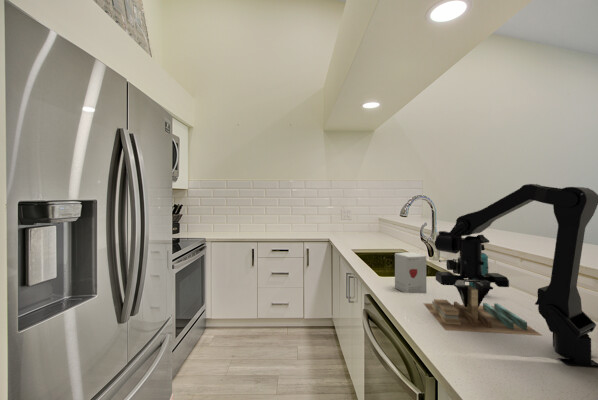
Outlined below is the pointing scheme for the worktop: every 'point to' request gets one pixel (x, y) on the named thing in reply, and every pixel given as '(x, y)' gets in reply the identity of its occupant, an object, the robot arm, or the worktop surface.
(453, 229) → the robot arm
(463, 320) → the rack
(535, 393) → the worktop surface
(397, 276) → the supplement box
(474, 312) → the tan rectangular block
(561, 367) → the worktop surface
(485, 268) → the beverage bottle
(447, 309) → the offcut stack
